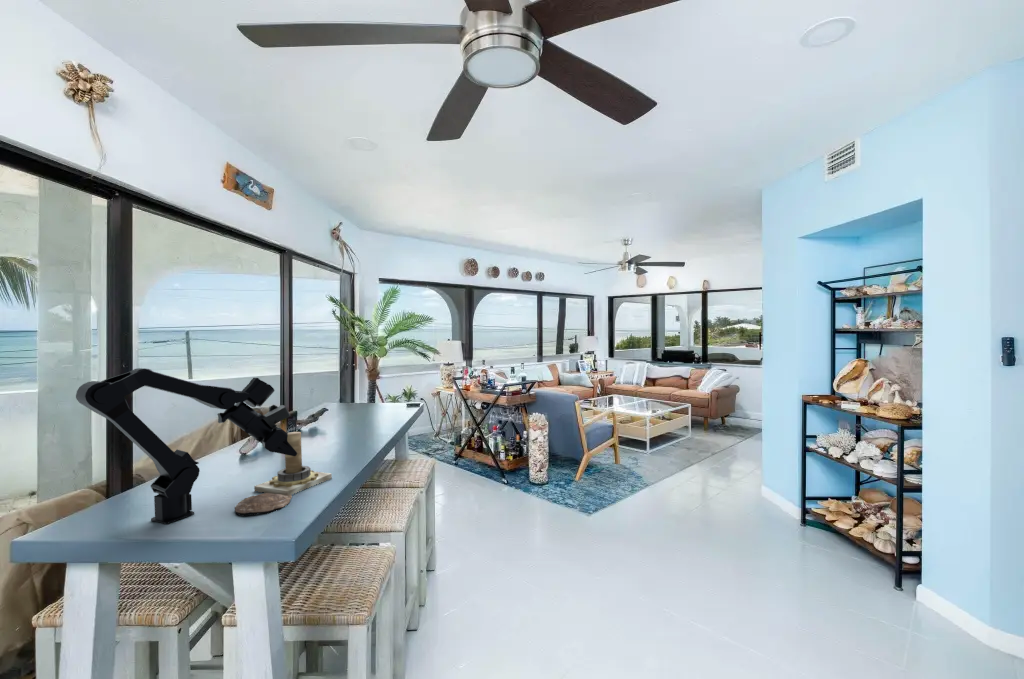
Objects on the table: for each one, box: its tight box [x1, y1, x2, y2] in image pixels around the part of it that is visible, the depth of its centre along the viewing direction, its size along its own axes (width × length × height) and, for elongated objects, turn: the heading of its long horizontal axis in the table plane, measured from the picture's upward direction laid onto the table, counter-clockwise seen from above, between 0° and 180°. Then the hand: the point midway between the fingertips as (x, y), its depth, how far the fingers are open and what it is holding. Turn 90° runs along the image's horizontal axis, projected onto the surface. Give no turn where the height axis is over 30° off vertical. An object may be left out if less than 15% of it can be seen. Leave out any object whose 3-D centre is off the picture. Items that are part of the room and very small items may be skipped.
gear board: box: [253, 465, 333, 496], centre depth 132 cm, size 16×13×4 cm
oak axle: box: [284, 431, 303, 474], centre depth 131 cm, size 4×4×13 cm
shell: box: [234, 493, 293, 517], centre depth 115 cm, size 12×13×4 cm
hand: (292, 451), depth 131 cm, fingers open, 9 cm apart
